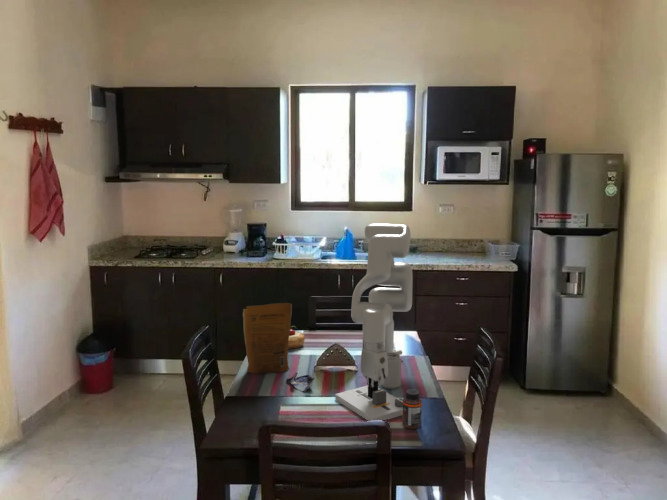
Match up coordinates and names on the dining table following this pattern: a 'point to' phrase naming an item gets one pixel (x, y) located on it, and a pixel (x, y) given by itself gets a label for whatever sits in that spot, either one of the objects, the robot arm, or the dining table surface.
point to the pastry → (295, 339)
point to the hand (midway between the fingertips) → (372, 396)
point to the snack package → (301, 381)
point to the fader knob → (379, 397)
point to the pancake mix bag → (267, 337)
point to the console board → (370, 404)
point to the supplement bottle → (412, 409)
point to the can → (393, 371)
